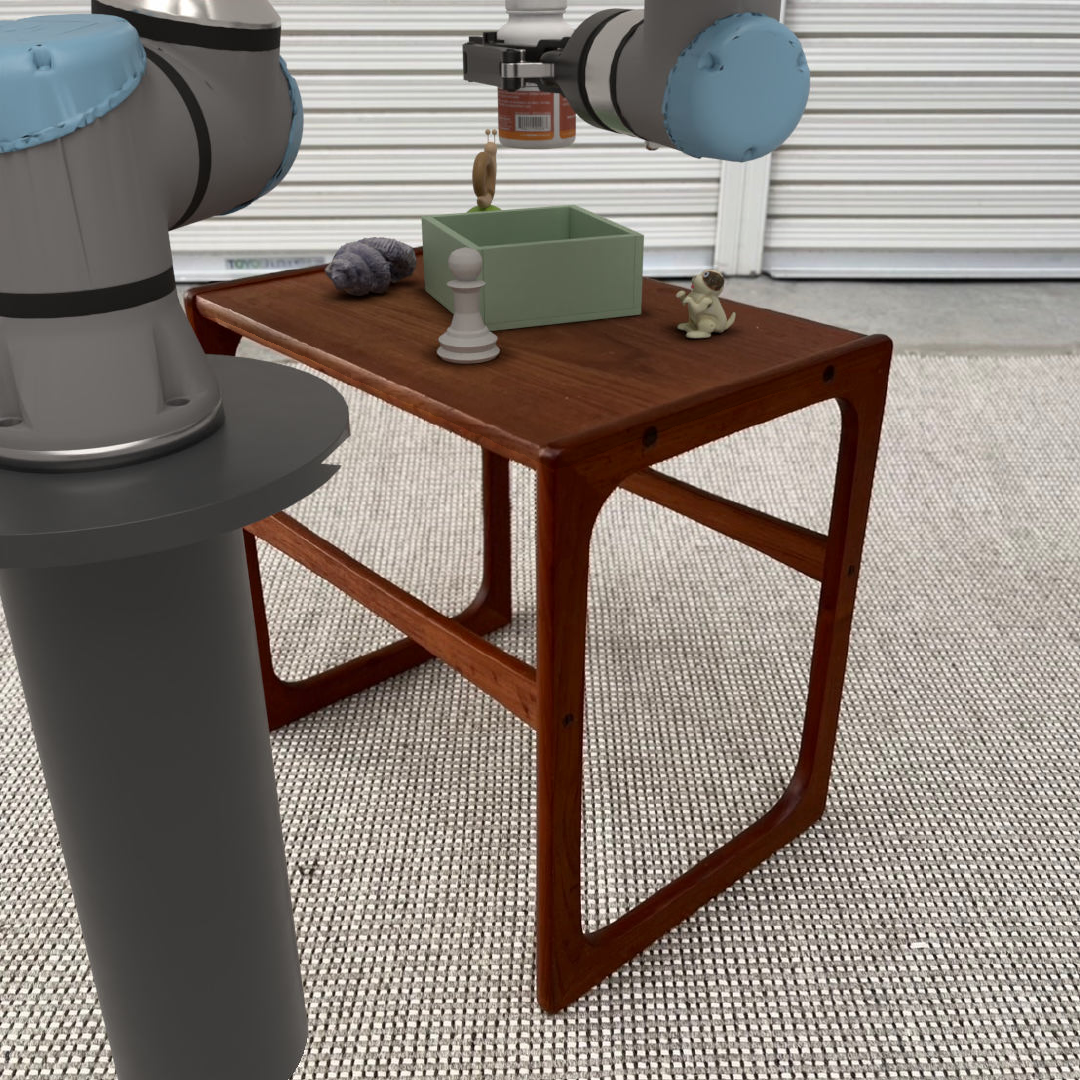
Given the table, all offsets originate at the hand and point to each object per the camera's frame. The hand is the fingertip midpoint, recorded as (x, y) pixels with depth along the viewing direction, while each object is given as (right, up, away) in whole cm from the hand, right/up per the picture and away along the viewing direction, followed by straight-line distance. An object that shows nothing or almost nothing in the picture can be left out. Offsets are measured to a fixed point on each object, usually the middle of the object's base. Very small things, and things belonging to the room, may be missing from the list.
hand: (514, 53), depth 93 cm
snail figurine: (-3, -12, +22) cm, 25 cm away
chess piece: (-3, -26, -7) cm, 27 cm away
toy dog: (+15, -23, -2) cm, 28 cm away
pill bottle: (+2, -8, -1) cm, 8 cm away
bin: (+1, -19, +7) cm, 20 cm away
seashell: (-13, -17, +10) cm, 24 cm away
